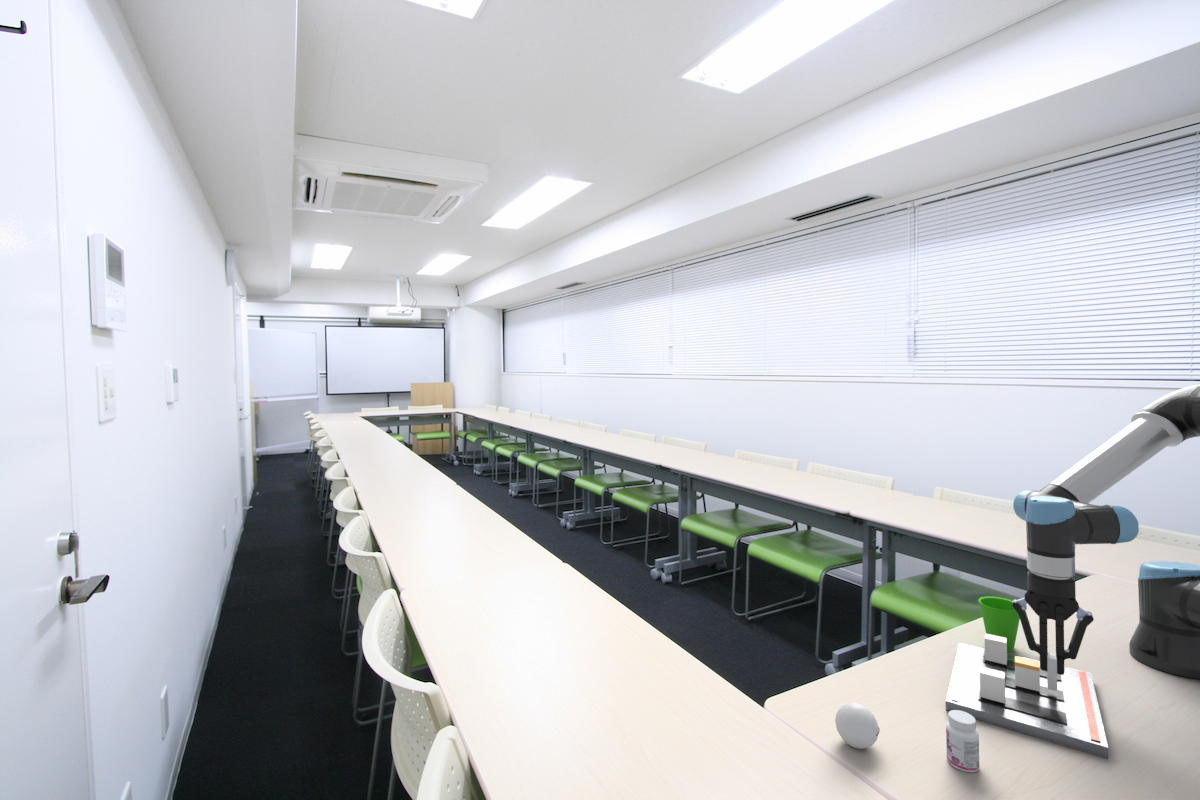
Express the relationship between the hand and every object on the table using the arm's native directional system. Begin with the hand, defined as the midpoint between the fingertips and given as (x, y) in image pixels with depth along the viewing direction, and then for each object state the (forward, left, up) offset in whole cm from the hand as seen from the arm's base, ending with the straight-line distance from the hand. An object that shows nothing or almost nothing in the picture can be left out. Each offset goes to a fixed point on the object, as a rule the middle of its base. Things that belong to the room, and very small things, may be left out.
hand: (1052, 687), depth 109 cm
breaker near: (+10, +9, -1) cm, 13 cm away
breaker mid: (+4, 0, -1) cm, 4 cm away
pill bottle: (+13, +31, -4) cm, 34 cm away
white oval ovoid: (+29, +35, -4) cm, 46 cm away
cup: (+9, -23, -4) cm, 25 cm away
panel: (+5, 0, -4) cm, 6 cm away
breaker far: (+10, -9, -1) cm, 13 cm away
